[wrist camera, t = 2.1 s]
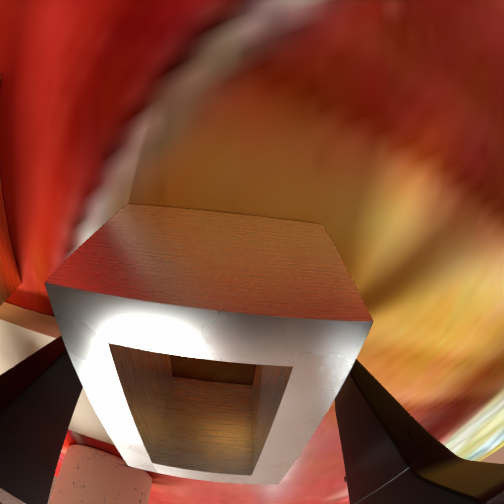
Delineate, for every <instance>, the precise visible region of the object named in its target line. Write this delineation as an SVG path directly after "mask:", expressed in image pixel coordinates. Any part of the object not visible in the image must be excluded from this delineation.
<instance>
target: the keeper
mask: <svg viewBox="0 0 504 504" xmlns="http://www.w3.org/2000/svg"><path fill="white" fill-rule="evenodd" d="M59 336H61V333H60V330H59V327H58V324H57V321H56V318H55V317H53V316H49V315H45V314H42V313H38V312H35V311H32V310H28V309H25V308H22V307H18V306H15V305H12V304H9V303H6V302H4V303H3V304H2V305H1V306H0V375H1V374H2V373H4V372H6V371H7V370H9V369H10V368H12V367H14V366H15V365H16V364H18V363H19V362H21V361H22V360H24V359H25V358H27V357H28V356H30V355H31V354H33V353H35V352H36V351H38V350H39V349H41V348H42V347H44V346H45V345H47V344H48V343H50V342H52V341H53V340H55V339H56V338H58V337H59ZM68 429H69V430H71V431H74V432H77V433H79V434H82V435H85V436H88V437H91V438H94V439H97V440H100V441H103V442H107V443H110V444H113V445H114V443H113V441H112V440H111V438H110V436H109V435H108V433H107V431H106V430H105V428H104V426H103V424H102V423H101V421H100V419H99V417H98V415H97V413H96V412H95V410H94V408H93V406H92V404H91V402H90V400H89V398H88V396H87V394H86V392H85V390H84V388H83V389H82V391H81V394H80V397H79V399H78V402H77V405H76V407H75V410H74V413H73V416H72V419H71V422H70V425H69V428H68Z"/></svg>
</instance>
